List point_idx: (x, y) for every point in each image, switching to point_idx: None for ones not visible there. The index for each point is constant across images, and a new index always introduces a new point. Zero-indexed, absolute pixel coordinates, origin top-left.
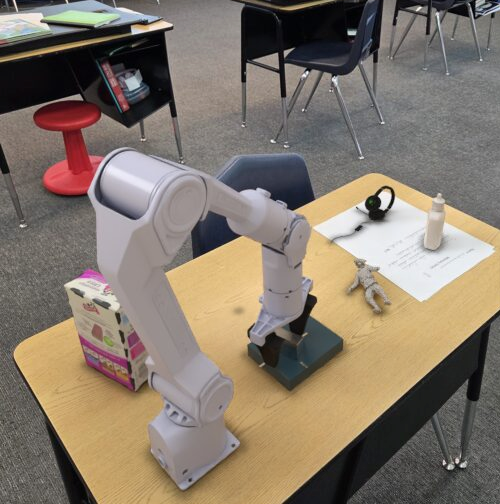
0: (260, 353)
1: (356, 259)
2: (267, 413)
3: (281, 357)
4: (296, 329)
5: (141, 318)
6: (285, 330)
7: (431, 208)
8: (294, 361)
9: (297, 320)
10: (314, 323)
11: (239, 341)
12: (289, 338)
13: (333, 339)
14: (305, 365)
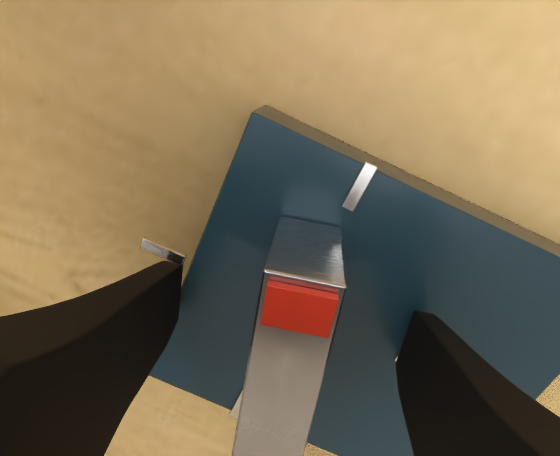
0: (118, 281)
1: None
2: (55, 293)
3: (243, 309)
4: (410, 365)
5: None
6: (310, 390)
7: None
8: (245, 364)
9: (431, 423)
10: (517, 385)
11: (341, 9)
12: (256, 424)
13: None
14: (238, 411)
